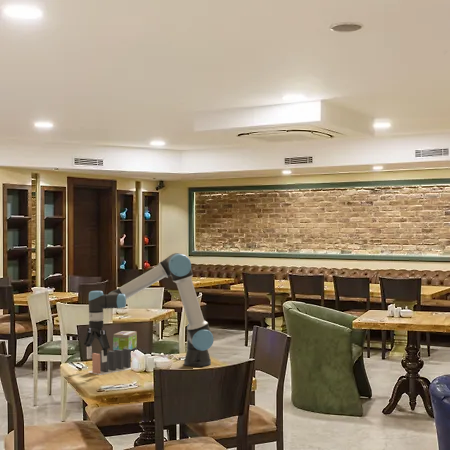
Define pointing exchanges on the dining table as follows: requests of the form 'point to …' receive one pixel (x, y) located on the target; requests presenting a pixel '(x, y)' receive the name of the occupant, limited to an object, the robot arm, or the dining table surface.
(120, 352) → the domino
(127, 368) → the domino mat
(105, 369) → the domino
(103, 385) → the dining table surface
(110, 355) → the domino
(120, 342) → the tea box
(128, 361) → the domino
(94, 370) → the domino
